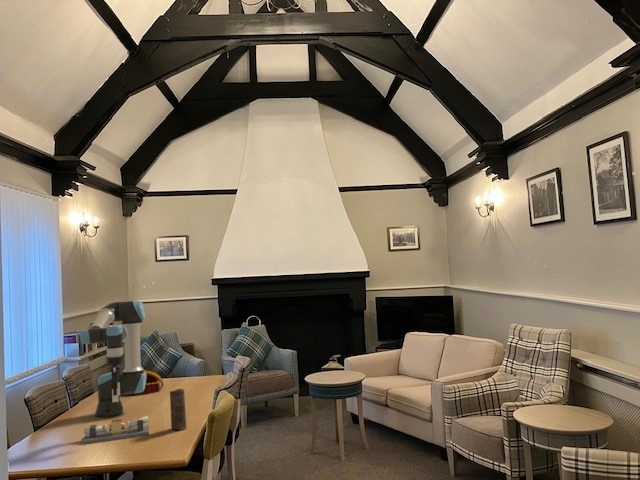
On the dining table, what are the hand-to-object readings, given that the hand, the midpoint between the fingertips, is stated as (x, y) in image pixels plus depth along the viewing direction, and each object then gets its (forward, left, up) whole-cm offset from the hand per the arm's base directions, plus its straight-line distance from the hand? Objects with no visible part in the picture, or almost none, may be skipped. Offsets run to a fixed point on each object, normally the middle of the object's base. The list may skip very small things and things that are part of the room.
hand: (116, 398), depth 256 cm
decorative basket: (-74, +71, -19) cm, 104 cm away
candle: (+21, +21, -19) cm, 35 cm away
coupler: (0, 0, -17) cm, 17 cm away
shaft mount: (0, 0, -18) cm, 18 cm away
